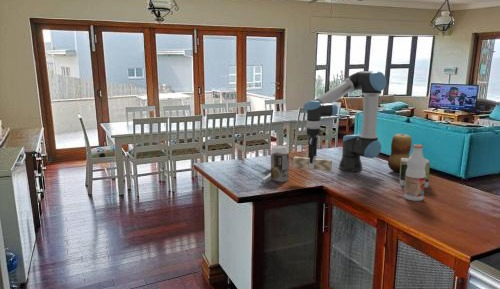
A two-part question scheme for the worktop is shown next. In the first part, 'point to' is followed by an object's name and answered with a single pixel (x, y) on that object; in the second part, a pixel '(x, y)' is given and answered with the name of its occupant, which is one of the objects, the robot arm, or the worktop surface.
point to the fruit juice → (415, 175)
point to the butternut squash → (399, 151)
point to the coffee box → (279, 167)
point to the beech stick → (318, 163)
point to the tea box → (404, 166)
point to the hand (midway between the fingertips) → (312, 167)
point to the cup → (279, 149)
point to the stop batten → (266, 178)
